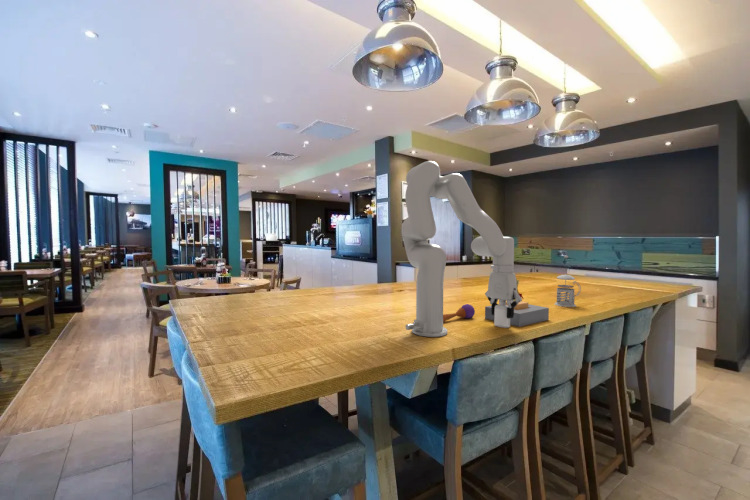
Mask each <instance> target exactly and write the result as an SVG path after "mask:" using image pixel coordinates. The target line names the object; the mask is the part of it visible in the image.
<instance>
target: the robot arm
mask: <svg viewBox="0 0 750 500" xmlns="http://www.w3.org/2000/svg"><path fill="white" fill-rule="evenodd" d="M405 181H406V183H407V186H406V188H405V189H406V190H405V195H404V197H405V198H404V200H405V205H406V206H405V207H406V211H407V216H408V217H406V218H405V219H404V220H403V222H402V223H401V224H402V225H401V237H402V241H403V245H404V249H405V253H406V258H407V260H408V262H409V264H410V265H411V266H412V267H414V268H416V269H418V270H417V275H416V283H415V285H416V290H415V291H416V292H415V293H416V298H415V300H416V301H415V302H416V304H415V306H416V307H415V309H416V314H415V315H416V316H415V319H414V320H413V321H412V323H407V324H405V326H404V327H405V330H407V331H411V333H413V334H415V335H416V336H420V337H427V338H436V337H437V338H438V337H444V336H446V335H448V329H447V328H446V327H444V322H443V315H444V279H445V278H444V277H445V269H446V264H447V254H446V252H445V250H444V249H443V247H441V246H440V245H438V244H434V243H429V240H431V239H433V238H434V237H435V235H436V234H437V225H436V222H435V217H434V213H433V209H432V203H431V197H433V198H435V199H439V200H446V199H447V200H448V202H449V204H450V206H451V208H452V210H453V211H454V213H455V215H456V217H457V219H458V221H459V220H460V222H462V223H463V224H465V225H467V226H469V227H471V228H473V230H475V231H476V232H477V233H478V234H479V235H480V236H477V237H475V238H474V239H473V240H472V241H471V244H470V249H471V251H472V252H473V254H475V255H477V256H479V257H492V265H490V269H492V271H491V272H490V273H489V279H488V285H487V286H488V287H487V291H486V292H485V293H484V295H485V297H486V298H487V300H488V301H489V304H490V306H491V311H492V315H494V310H495V306H496V305H498V304H499V303H498V302H499V299H500V300H506V302H507V304H508V307H509V308H507V318H513V317H514V307H516V305H517V304H518V303H519V302H520V301H521V300H522V301H523V299H522V297H520V296H519V294H518V293H517V282H516V278H517V277H516V273H514V272H515V270H514V269H515V263H514V261H515V239H514V238H513V237H511V236H504V235H503V233H502V230H501V229H500V227H499V226H498V224H497V222H496V221H495V220H493V219H492V217H491V216H489V215H488V213H486V212H485V211H484V210H483V209H482V208H481V207H480V205H479V204H478V202H477V200H476V198H475V196H474V194H473V192H472V190H471V189H470V186H469V185H468V182H467V180H466V179H465V177H464V176H463V175H462V174H460V173H458V172H455V173H449V174H445V175H444V176H442V175H441V168H440V166H439V164H438V163H437V162H436V161H434V160H433V161H432V160H427V161H424V162H422V163H420V164H418V165H416V166H414V167H412V168H411V169H409V171H408V172H407V174H406V177H405ZM514 299H516V300H515V301H514Z"/></svg>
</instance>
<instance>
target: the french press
mask: <svg viewBox="0 0 750 500" xmlns="http://www.w3.org/2000/svg"><path fill="white" fill-rule="evenodd" d="M563 257H564V259H569V256H568V255H564V256H563ZM556 279H558V280H565V282H564V283H565V284H558V285H557V288H556V302H554V305H555V306H559V307H566V308H574V307H577V305H576V304H575V297H577V296H578V295H580V294H581V291H582V287H581V285H580V283H579V282H578V281H574V280H575V279H576V278H575V277H574V276H572V275H570V274H567V273H565V274H561V275H558V276H556ZM570 280H573V281H572V284H573V285H570V284H567V281H570ZM575 284H576V285H577V287H578V288H579V291H578V292H577V294H575V288H574V285H575Z"/></svg>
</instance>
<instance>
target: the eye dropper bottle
mask: <svg viewBox="0 0 750 500" xmlns="http://www.w3.org/2000/svg"><path fill="white" fill-rule="evenodd" d="M506 302H507V301H506V300H500V299H498V304H499V305H496V306H495V310H494V320H493V324H494V326H495V327H498V328H505V329H508V328H510V327H511V325H510V318H507V308H509V307H508V306H507V305H505V304H506Z"/></svg>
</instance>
